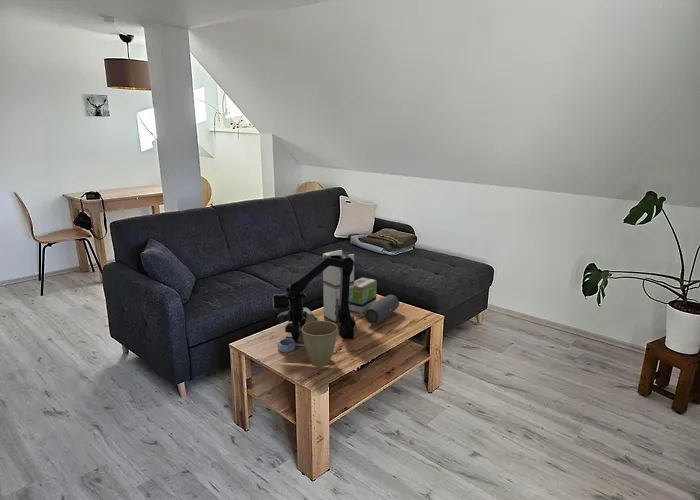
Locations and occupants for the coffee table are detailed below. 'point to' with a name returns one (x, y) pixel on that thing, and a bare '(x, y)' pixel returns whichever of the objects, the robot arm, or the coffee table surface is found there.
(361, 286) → the tea box
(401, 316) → the coffee table surface
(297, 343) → the mat
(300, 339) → the lid
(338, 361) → the coffee table surface
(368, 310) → the bluetooth speaker
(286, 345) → the bowl
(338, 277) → the tall grey upright box
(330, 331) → the plant pot
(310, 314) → the ceramic mug
